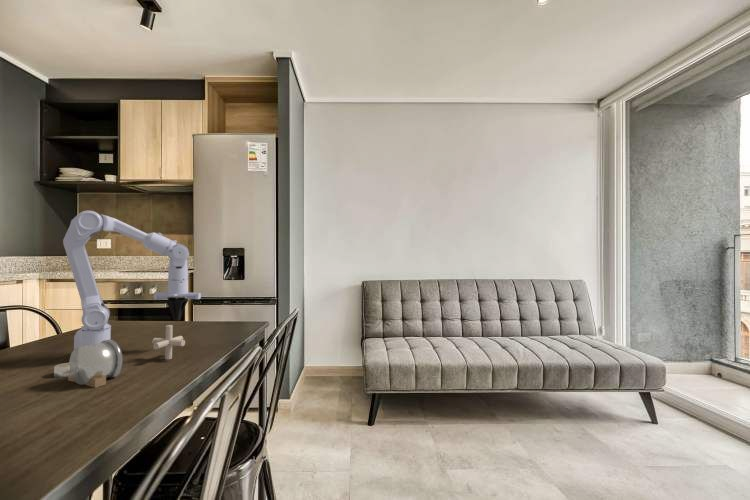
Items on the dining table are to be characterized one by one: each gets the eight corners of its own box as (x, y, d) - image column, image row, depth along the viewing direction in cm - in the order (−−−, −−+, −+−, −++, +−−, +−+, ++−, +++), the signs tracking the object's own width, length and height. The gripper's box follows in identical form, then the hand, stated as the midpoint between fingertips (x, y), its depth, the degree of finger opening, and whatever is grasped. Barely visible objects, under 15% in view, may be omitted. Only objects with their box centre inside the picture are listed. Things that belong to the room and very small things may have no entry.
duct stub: (66, 382, 91) (67, 343, 91) (97, 374, 98) (98, 337, 98) (93, 389, 87) (94, 348, 87) (123, 380, 93) (124, 341, 93)
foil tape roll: (49, 375, 95) (49, 366, 95) (71, 370, 100) (72, 360, 100) (60, 378, 93) (61, 368, 93) (83, 372, 98) (83, 363, 98)
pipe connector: (170, 364, 105) (171, 330, 105) (140, 362, 107) (141, 328, 107) (194, 355, 115) (194, 323, 115) (166, 353, 117) (167, 321, 117)
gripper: (148, 280, 119) (148, 322, 118) (194, 281, 119) (193, 322, 119) (160, 278, 126) (159, 318, 125) (203, 279, 126) (202, 318, 126)
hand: (177, 320), depth 123 cm, fingers closed
